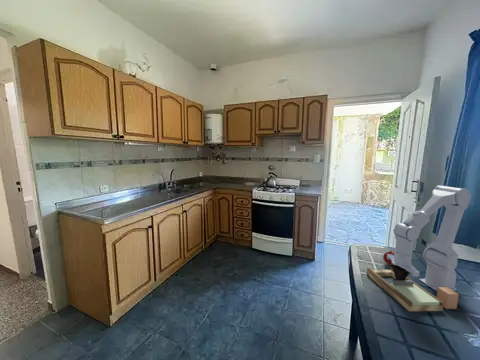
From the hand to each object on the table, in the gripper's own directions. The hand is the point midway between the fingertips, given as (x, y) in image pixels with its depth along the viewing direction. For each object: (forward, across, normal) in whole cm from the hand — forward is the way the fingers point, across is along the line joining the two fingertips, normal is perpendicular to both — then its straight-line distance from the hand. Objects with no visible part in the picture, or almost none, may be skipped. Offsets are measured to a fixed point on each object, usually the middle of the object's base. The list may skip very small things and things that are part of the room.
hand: (399, 282), depth 89 cm
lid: (+1, +7, 0) cm, 7 cm away
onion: (+3, -19, +11) cm, 23 cm away
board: (+3, +1, 0) cm, 3 cm away
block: (+3, +10, +11) cm, 15 cm away
